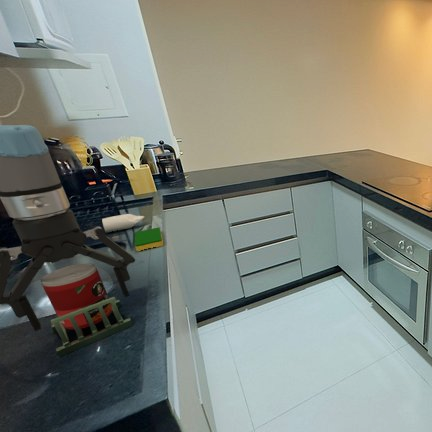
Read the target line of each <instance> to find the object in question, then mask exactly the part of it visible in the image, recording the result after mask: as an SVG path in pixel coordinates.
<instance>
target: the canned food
mask: <svg viewBox="0 0 432 432" xmlns="http://www.w3.org/2000/svg"><path fill="white" fill-rule="evenodd" d="M40 282H41V287H42V288H43V291H44V292H45V294H46V297H47V298H48V301H49V302H50V304H51V306H52V308H53V310H54V312H55V314H56V317H60V316H63V315H65V314H68V313H71V312H74V311H76V310H79V309H82V308H85V307H87V306H90V305H93V304H95V303H98V302H101V301H104V300H106V299H109V298H110V297H109V295H108V291H107V290H106V287H105V285H104V283H103V280H102V277H101V275H100V273H99V270H98V268H97V266H96V265H95V264H93V263H85V262H84V263H77V264H72V265H68V266H64V267H61V268H58V269H55V270H53V271H51V272H49V273H47V274H46V275H44V276H43V277H42V278H41V279H40ZM102 308H103V310H104V313H105V315H106V317H107V318H108V317H109V316H110V315H111V314H112V313H113V312H112V305H111V303H108V304H105V305H103V306H102ZM88 312H89V314H90V317H91V319H92V321H93V323H94V324H95V325H96V324H98V323H100V322H103V321H102V320H103V319H102V316H101V314H100V312H99V309H98V307H97V308H95V309H92V310H89V311H88ZM74 318H75V320H76V322H77V324H78V327H79V329H85V328H88V327H89V328H90V325H89V323H88V321H87V319H86V317H85V314H84V313H81V314H79V315H76V316H74ZM60 322H61V324H62V325H63V326H64V327H65V328H66V330H75V329H74V327H73V325H72V323H71V321H70V319H69V318H68V319H65V320H63V321H60Z"/></svg>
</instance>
